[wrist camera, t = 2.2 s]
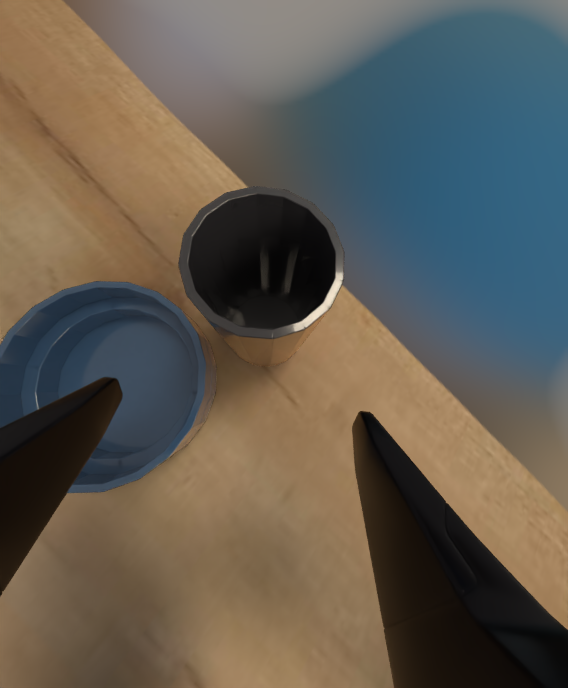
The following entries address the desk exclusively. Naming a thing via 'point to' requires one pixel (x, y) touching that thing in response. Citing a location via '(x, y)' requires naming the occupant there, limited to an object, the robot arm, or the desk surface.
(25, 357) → the bowl
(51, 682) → the desk surface
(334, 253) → the cup
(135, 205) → the desk surface
